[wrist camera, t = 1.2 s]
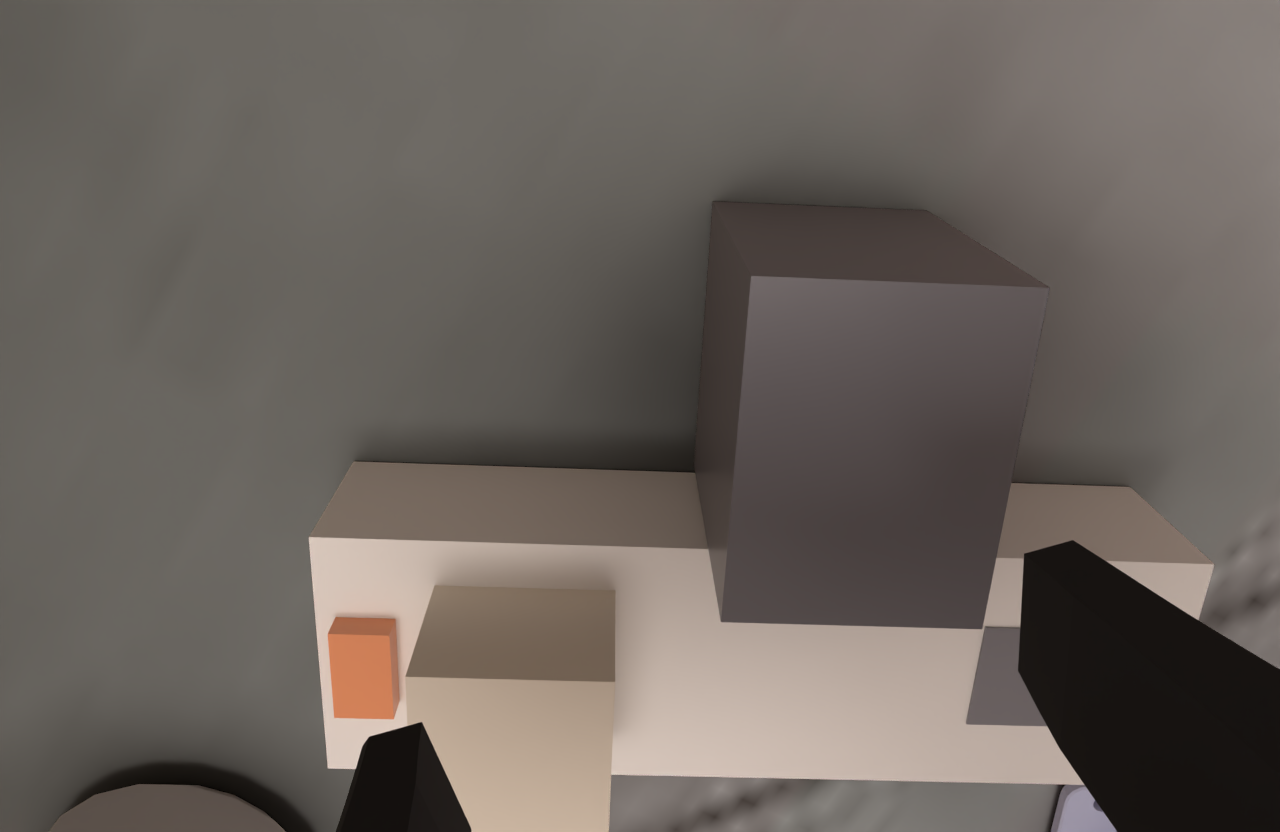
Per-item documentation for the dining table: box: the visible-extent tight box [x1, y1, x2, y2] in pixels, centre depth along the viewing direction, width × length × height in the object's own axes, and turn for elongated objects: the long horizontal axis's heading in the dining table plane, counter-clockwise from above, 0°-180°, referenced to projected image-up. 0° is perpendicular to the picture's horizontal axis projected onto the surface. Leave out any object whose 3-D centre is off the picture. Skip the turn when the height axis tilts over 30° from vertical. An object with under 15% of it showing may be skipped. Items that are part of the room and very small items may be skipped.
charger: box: [694, 201, 1050, 629], centre depth 20 cm, size 4×9×6 cm, turn 177°
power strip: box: [309, 461, 1214, 785], centre depth 22 cm, size 18×6×4 cm, turn 87°
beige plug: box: [405, 585, 615, 832], centre depth 19 cm, size 4×4×3 cm
